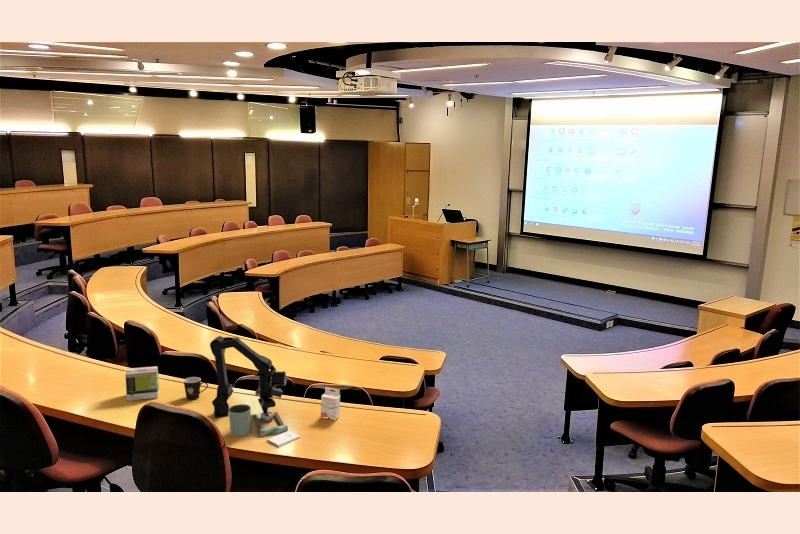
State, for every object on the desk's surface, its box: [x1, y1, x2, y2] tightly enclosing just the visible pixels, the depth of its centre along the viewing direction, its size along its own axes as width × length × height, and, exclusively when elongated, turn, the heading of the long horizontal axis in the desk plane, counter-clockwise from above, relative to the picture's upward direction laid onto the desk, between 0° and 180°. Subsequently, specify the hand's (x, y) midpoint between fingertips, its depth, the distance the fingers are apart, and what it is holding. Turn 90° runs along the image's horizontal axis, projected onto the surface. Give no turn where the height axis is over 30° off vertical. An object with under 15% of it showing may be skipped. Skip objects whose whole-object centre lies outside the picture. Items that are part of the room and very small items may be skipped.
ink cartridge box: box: [320, 387, 341, 419], centre depth 283 cm, size 9×5×15 cm, turn 74°
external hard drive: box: [266, 430, 301, 448], centre depth 260 cm, size 2×8×12 cm
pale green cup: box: [228, 403, 252, 438], centre depth 264 cm, size 10×10×12 cm
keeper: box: [260, 411, 274, 424], centre depth 279 cm, size 6×6×3 cm
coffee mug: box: [183, 376, 209, 401], centre depth 301 cm, size 12×9×10 cm
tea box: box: [125, 365, 160, 401], centre depth 301 cm, size 15×10×15 cm
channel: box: [252, 411, 289, 437], centre depth 274 cm, size 13×20×2 cm, turn 25°
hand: (265, 413), depth 283 cm, fingers closed
